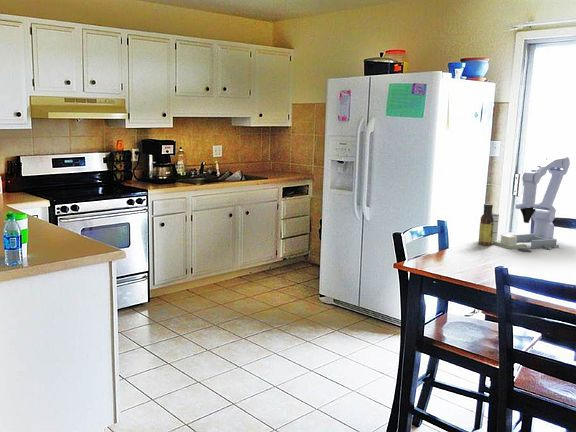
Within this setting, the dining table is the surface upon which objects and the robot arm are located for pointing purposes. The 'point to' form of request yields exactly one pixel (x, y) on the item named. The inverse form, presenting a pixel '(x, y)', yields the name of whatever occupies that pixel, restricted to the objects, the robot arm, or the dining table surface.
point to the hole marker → (524, 250)
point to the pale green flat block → (509, 245)
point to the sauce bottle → (486, 226)
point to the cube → (508, 239)
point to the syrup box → (495, 226)
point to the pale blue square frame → (535, 240)
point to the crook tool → (550, 246)
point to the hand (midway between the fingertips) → (526, 222)
